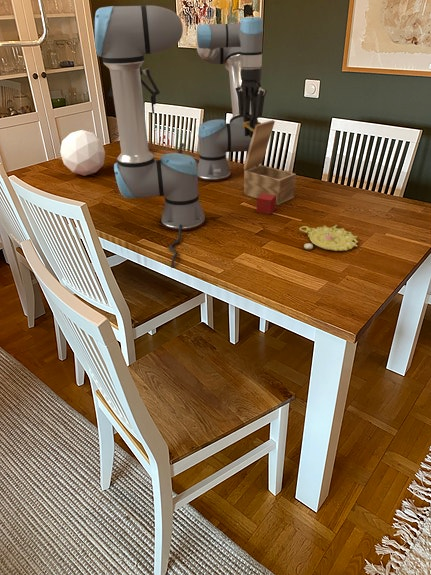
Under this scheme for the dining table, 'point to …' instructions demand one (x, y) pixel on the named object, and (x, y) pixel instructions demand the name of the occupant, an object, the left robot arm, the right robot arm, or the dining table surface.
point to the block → (266, 203)
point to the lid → (258, 143)
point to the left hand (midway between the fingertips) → (136, 114)
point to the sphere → (82, 152)
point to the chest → (269, 183)
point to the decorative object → (330, 238)
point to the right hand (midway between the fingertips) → (250, 135)
